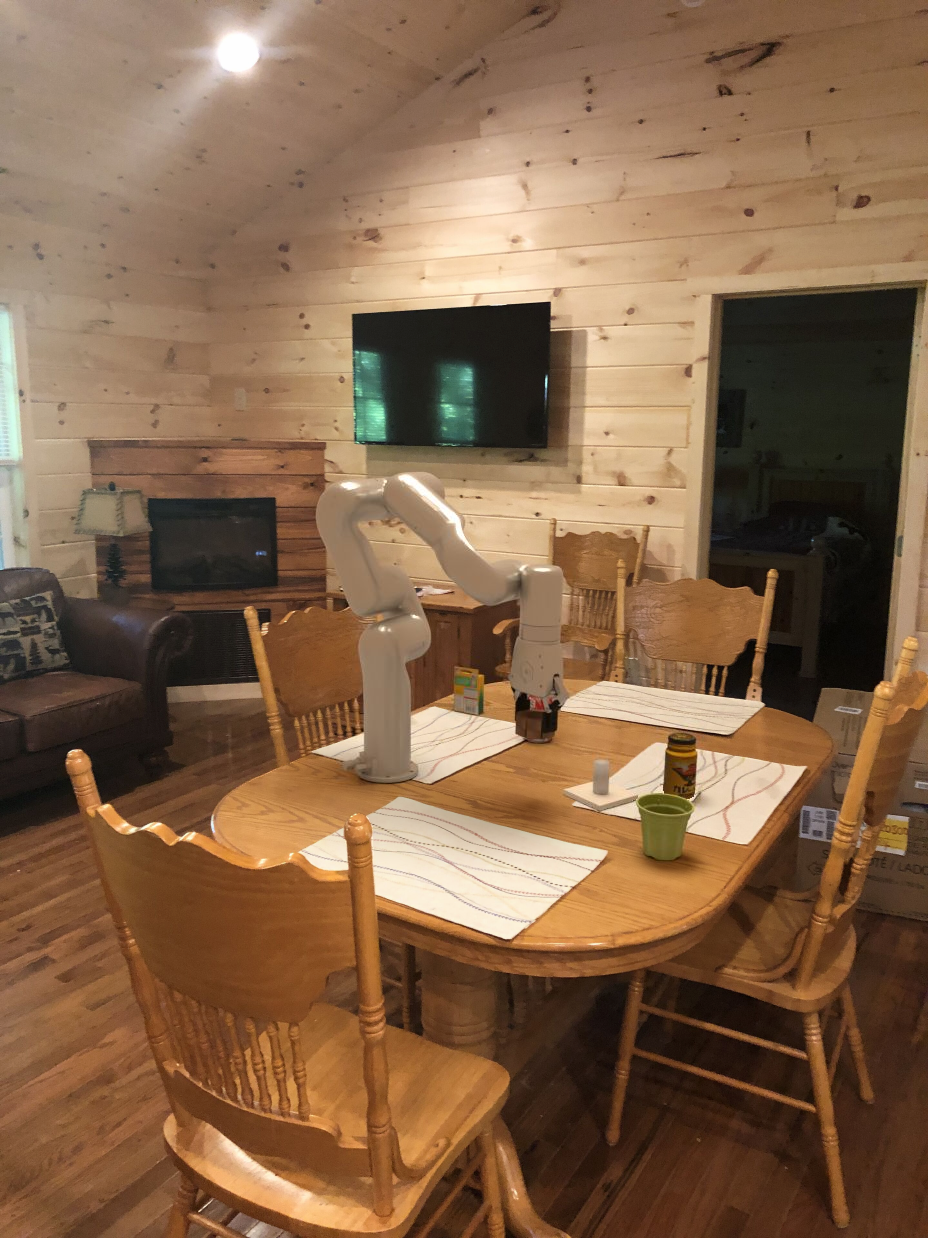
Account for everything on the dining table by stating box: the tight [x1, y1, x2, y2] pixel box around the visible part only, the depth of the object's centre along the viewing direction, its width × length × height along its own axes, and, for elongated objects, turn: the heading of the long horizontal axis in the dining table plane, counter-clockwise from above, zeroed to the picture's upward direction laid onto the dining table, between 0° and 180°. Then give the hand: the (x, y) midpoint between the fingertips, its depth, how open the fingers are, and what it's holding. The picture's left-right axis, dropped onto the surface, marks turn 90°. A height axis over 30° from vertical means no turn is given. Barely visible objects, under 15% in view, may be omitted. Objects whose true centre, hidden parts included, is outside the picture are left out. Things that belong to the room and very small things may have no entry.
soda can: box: [525, 695, 553, 744], centre depth 210 cm, size 7×7×12 cm
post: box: [562, 759, 639, 812], centre depth 176 cm, size 10×10×7 cm
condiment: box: [659, 732, 698, 799], centre depth 178 cm, size 7×8×12 cm
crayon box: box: [453, 666, 485, 716], centre depth 232 cm, size 7×3×12 cm, turn 58°
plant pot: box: [635, 793, 696, 861], centre depth 152 cm, size 9×9×9 cm
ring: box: [514, 709, 556, 740], centre depth 171 cm, size 7×7×4 cm
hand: (535, 725), depth 172 cm, fingers closed on ring, 7 cm apart
